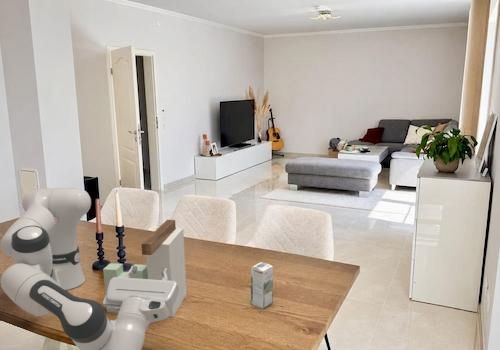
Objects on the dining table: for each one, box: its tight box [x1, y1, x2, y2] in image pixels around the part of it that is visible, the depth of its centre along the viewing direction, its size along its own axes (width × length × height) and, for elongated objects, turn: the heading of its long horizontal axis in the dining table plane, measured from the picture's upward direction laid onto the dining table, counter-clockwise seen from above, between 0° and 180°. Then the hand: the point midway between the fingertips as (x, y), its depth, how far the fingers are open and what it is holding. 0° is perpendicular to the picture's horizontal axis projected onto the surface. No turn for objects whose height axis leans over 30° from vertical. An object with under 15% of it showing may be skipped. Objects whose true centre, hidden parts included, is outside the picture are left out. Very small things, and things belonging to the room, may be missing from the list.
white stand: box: [145, 227, 188, 318], centre depth 148 cm, size 8×16×26 cm, turn 172°
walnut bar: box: [140, 219, 177, 256], centre depth 141 cm, size 3×24×4 cm, turn 172°
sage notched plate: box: [102, 262, 148, 314], centre depth 146 cm, size 14×5×16 cm, turn 82°
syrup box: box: [250, 261, 274, 310], centre depth 149 cm, size 6×6×14 cm
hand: (149, 267), depth 127 cm, fingers open, 8 cm apart
